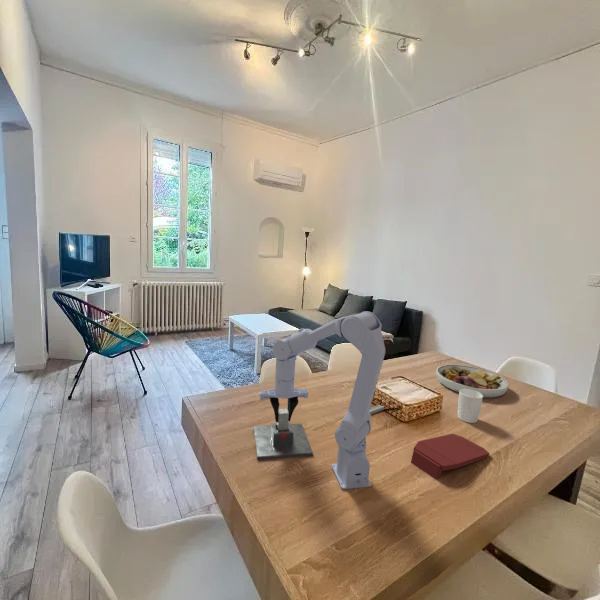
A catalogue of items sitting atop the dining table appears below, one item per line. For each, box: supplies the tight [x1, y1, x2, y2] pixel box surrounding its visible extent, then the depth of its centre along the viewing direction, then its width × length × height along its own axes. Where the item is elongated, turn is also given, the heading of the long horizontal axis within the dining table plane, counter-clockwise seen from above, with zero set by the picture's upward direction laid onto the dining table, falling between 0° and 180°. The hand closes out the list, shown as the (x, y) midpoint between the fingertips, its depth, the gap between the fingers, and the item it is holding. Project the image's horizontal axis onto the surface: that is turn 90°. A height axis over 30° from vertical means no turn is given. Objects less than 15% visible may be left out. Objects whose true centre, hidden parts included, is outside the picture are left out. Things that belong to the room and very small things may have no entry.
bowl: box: [435, 364, 509, 399], centre depth 157 cm, size 30×30×8 cm
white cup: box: [457, 389, 484, 424], centre depth 125 cm, size 8×8×10 cm
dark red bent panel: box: [410, 433, 490, 480], centre depth 101 cm, size 12×5×25 cm
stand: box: [253, 421, 314, 461], centre depth 104 cm, size 16×16×4 cm
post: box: [276, 407, 289, 432], centre depth 103 cm, size 3×3×8 cm
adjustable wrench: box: [369, 404, 384, 415], centre depth 128 cm, size 25×6×2 cm, turn 121°
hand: (282, 420), depth 103 cm, fingers closed on post, 3 cm apart
